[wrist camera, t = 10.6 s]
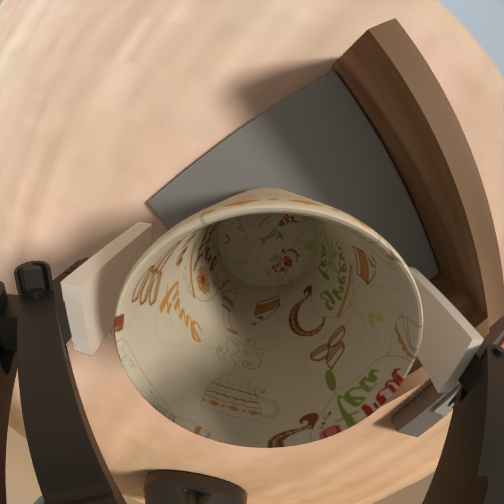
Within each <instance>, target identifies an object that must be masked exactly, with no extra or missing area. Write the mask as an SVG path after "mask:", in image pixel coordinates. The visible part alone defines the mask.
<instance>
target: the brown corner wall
mask: <svg viewBox="0 0 504 504" xmlns="http://www.w3.org/2000/svg"><path fill="white" fill-rule="evenodd" d="M332 68H333V69H334V70H335V72H336V73H337V74H338V76H339V77H340V78H341V80H342V81H343V83H344V84H345V85H346V87H347V88H348V90H349V91H350V92H351V94H352V95H353V97H354V98H355V100H356V101H357V103H358V104H359V106H360V107H361V109H362V110H363V112H364V114H365V115H366V117H367V118H368V120H369V122H370V123H371V125H372V126H373V128H374V130H375V131H376V133H377V135H378V136H379V138H380V140H381V142H382V143H383V145H384V147H385V149H386V151H387V152H388V154H389V156H390V158H391V160H392V162H393V163H394V165H395V167H396V169H397V171H398V173H399V175H400V177H401V179H402V181H403V183H404V185H405V187H406V189H407V191H408V193H409V196H410V198H411V200H412V202H413V204H414V207H415V209H416V211H417V213H418V216H419V218H420V220H421V223H422V225H423V228H424V230H425V233H426V235H427V238H428V240H429V243H430V246H431V248H432V251H433V254H434V256H435V259H436V262H437V265H438V268H439V271H440V272H439V273H438V274H437V275H436V276H434V277H433V278H432V279H430V280H429V281H430V282H431V283H432V284H433V285H434V286H435V287H436V288H437V289H438V290H439V291H440V292H441V293H442V294H443V295H444V296H445V297H446V298H447V299H448V300H449V302H450V303H451V304H452V305H453V306H454V307H455V308H456V309H457V310H458V311H459V312H460V313H461V314H462V315H463V316H464V317H465V319H466V320H467V321H468V322H469V323H470V324H471V325H472V326H473V327H474V328H475V330H476V331H477V332H478V333H479V334H480V335H481V336H482V338H484V337H486V336H487V335H488V334H489V333H490V331H489V328H490V327H491V326H492V325H493V324H494V323H495V322H497V321H498V320H499V319H500V318H501V317H502V316H503V315H504V281H503V273H502V266H501V260H500V253H499V248H498V242H497V237H496V233H495V228H494V224H493V219H492V215H491V211H490V207H489V204H488V200H487V197H486V193H485V190H484V187H483V183H482V180H481V177H480V174H479V171H478V168H477V165H476V163H475V160H474V157H473V155H472V152H471V149H470V147H469V144H468V142H467V140H466V137H465V135H464V132H463V130H462V128H461V126H460V123H459V121H458V119H457V117H456V115H455V113H454V111H453V109H452V107H451V105H450V103H449V101H448V99H447V97H446V95H445V93H444V91H443V89H442V88H441V86H440V84H439V82H438V81H437V79H436V77H435V75H434V74H433V72H432V70H431V69H430V67H429V65H428V64H427V62H426V61H425V59H424V58H423V56H422V54H421V53H420V51H419V50H418V48H417V47H416V45H415V44H414V43H413V41H412V40H411V38H410V37H409V36H408V34H407V33H406V31H405V30H404V29H403V27H402V26H401V25H400V23H399V22H398V21H397V20H396V18H395V19H392V20H389V21H387V22H384V23H382V24H380V25H377V26H375V27H372V28H370V29H368V30H367V31H366V32H365V33H364V34H363V35H362V36H361V37H360V38H359V39H358V40H357V41H356V42H355V43H354V44H353V45H352V46H351V47H350V48H349V49H348V50H347V51H346V52H345V53H344V54H343V55H342V56H341V57H340V58H339V59H338V60H337V61H336V62H335V63H334V64H333V65H332ZM427 379H429V376H428V374H427V372H426V371H425V369H424V367H423V365H422V364H421V362H420V360H419V359H418V357H417V356H416V358H415V361H414V363H413V365H412V367H411V369H410V371H409V373H408V374H407V376H406V378H405V379H404V381H403V382H402V383H401V385H400V386H399V387H398V389H397V390H396V391H395V393H394V394H393V395H392V396H391V397H390V398H389V399H388V400H387V401H386V402H385V403H384V404H383V405H385V404H387V403H389V402H390V401H392V400H394V399H396V398H398V397H399V396H401V395H403V394H405V393H406V392H408V391H410V390H411V389H413V388H415V387H416V386H418V385H420V384H421V383H423V382H424V381H426V380H427ZM383 405H382V406H383Z"/></svg>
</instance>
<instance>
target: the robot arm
mask: <svg viewBox="0 0 504 504" xmlns="http://www.w3.org/2000/svg"><path fill="white" fill-rule="evenodd" d="M152 230H153V224H150V223H144V222H138V223H136V224H135V225H133V226H132V227H131V228H129V229H128V230H127V231H125V232H124V233H122V234H121V235H120V236H118V237H117V238H116V239H114V240H113V241H112V242H110V243H109V244H108V245H106V246H105V247H104V248H102V249H101V250H100V251H98V252H97V253H96V254H95V255H93V256H92V257H91V258H85V259H82V260H80V261H77V262H76V263H74V264H73V265H72V266H71V267H70V268H68V269H67V270H65V271H64V273H62V274H60V275H59V276H58V277H57V278H55V279H54V280H53V281H52V276H51V269H50V266H49V264H48V263H46V262H43V261H30V262H26V263H24V264H21V265H20V266H18V267H17V268H16V269H15V271H14V275H15V280H16V285H17V289H18V294H19V295H11V294H6V290H5V286H4V283H3V282H1V281H0V504H7V503H6V484H5V462H6V461H5V460H6V442H7V441H6V440H7V430H8V420H9V412H10V405H11V399H12V393H13V387H14V382H15V377H16V372H17V368H18V378H19V389H20V398H21V406H22V413H23V420H24V426H25V431H26V436H27V441H28V446H29V450H30V454H31V458H32V462H33V466H34V470H35V473H36V476H37V480H38V483H39V486H40V489H41V492H42V496H40V497H39V498H38V499H37V500H36V502H35V503H34V504H127V503H126V502H125V500H124V498H123V496H122V494H121V493H120V491H119V489H118V487H117V485H116V483H115V481H114V479H113V477H112V475H111V473H110V471H109V469H108V467H107V465H106V463H105V460H104V458H103V456H102V454H101V451H100V449H99V447H98V444H97V442H96V440H95V437H94V435H93V432H92V429H91V427H90V424H89V421H88V419H87V416H86V413H85V410H84V407H83V404H82V401H81V398H80V395H79V392H78V388H77V385H76V381H75V378H74V374H73V371H72V367H71V363H70V359H69V355H68V350H67V347H66V343H67V342H68V341H69V340H70V338H72V342H73V346H74V350H76V351H78V352H81V353H84V354H87V355H90V356H93V354H94V353H95V351H96V350H97V348H98V347H99V345H100V344H101V342H102V341H103V339H104V338H105V337H106V335H107V334H108V332H109V331H110V329H111V328H112V327H113V325H114V318H115V309H116V305H117V301H118V297H119V294H120V291H121V289H122V286H123V284H124V282H125V280H126V277H127V276H128V274H129V272H130V271H131V269H132V267H133V266H134V264H135V263H136V262H137V261H138V259H139V258H140V257H141V256H142V254H143V253H144V252H145V251H146V250H147V249H148V248H149V247H150V246H151V245H152ZM408 268H409V270H410V272H411V274H412V276H413V278H414V280H415V282H416V285H417V288H418V291H419V294H420V298H421V303H422V309H423V330H422V338H421V342H420V347H419V350H418V353H417V357H418V359H419V360H420V362H421V364H422V365H423V367H424V369H425V371H426V372H427V374H428V376H429V378H430V379H431V381H432V383H433V385H434V386H435V388H436V390H437V392H438V393H445V392H451V390H452V389H453V388H454V386H455V385H456V383H457V382H458V381H459V382H460V384H461V387H460V389H459V390H458V392H457V393H456V394H455V396H454V397H453V398H452V400H451V401H450V402H449V404H448V406H450V405H451V404H452V403H455V404H454V406H453V407H452V408H453V413H452V418H451V422H450V426H449V429H448V433H447V437H446V440H445V444H444V447H443V450H442V453H441V457H440V460H439V463H438V465H437V468H436V471H435V474H434V476H433V479H432V482H431V484H430V487H429V490H428V492H427V494H426V497H425V499H424V501H423V503H422V504H504V349H503V348H502V347H501V346H499V345H496V344H492V343H490V344H488V345H486V344H485V343H484V341H483V340H484V339H483V338H482V336H481V335H480V334H479V333H478V332H477V331H476V330H475V328H474V327H473V326H472V325H471V324H470V323H469V322H468V321H467V320H466V319H465V317H464V316H463V315H462V314H461V313H460V312H459V311H458V310H457V309H456V308H455V307H454V306H453V305H452V304H451V303H450V302H449V300H448V299H447V298H446V297H445V296H444V295H443V294H442V293H441V292H440V291H439V290H438V289H437V288H436V287H435V286H434V285H433V284H432V283H431V282H430V281H429V280H428V279H427V278H426V277H424V276H423V275H422V274H421V273H420V272H419V271H418V270H417V269H416V268H413V267H408ZM144 492H145V504H247V493H246V491H245V490H244V489H242V488H241V487H239V486H237V485H235V484H232V483H230V482H227V481H224V480H220V479H217V478H213V477H209V476H204V475H199V474H193V473H187V472H179V471H155V472H151V473H149V474H148V475H147V476H146V480H145V483H144Z"/></svg>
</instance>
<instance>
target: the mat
mask: <svg viewBox="0 0 504 504" xmlns="http://www.w3.org/2000/svg"><path fill="white" fill-rule="evenodd" d="M261 187H270V188H278V189H282V190H286V191H289V192H292V193H295V194H297V195H300V196H303V197H306V198H309V199H312V200H314V201H317V202H320V203H323V204H325V205H328V206H331V207H333V208H336V209H338V210H340V211H342V212H345V213H347V214H349V215H351V216H352V217H354V218H356V219H358V220H359V221H361V222H362V223H364V224H366V225H367V226H369V227H370V228H372V229H373V230H374V231H375V232H377V233H378V234H379V235H380V236H381V237H383V238H384V239H385V240H386V241H387V242H388V243H389V244H390V245H391V246H392V247H393V248H394V249H395V250H396V251H397V252H398V254H399V255H400V256H401V258H402V259H403V260H404V262H405V263H406V265H407V266H408V267H413V268H416V269H417V270H418V271H419V272H420V273H421V274H422V275H423V276H424V277H426V278H427V279H428V280H430V279H432V278H433V277H434V276H436V275H437V274H438V273H439V270H438V267H437V264H436V261H435V258H434V256H433V253H432V250H431V247H430V245H429V242H428V240H427V237H426V234H425V232H424V230H423V227H422V225H421V222H420V220H419V218H418V215H417V213H416V211H415V208H414V206H413V204H412V202H411V200H410V197H409V195H408V193H407V191H406V189H405V187H404V185H403V183H402V181H401V179H400V177H399V175H398V173H397V171H396V169H395V167H394V165H393V163H392V161H391V159H390V158H389V156H388V154H387V152H386V150H385V149H384V147H383V145H382V143H381V142H380V140H379V138H378V136H377V135H376V133H375V131H374V130H373V128H372V126H371V125H370V123H369V121H368V120H367V118H366V117H365V115H364V114H363V112H362V110H361V109H360V107H359V106H358V104H357V103H356V101H355V100H354V98H353V97H352V95H351V94H350V92H349V91H348V90H347V88H346V87H345V85H344V84H343V83H342V81H341V80H340V78H339V77H338V76H337V74H336V73H335V72H334V71H332V72H330V73H328V74H326V75H325V76H323V77H321V78H319V79H318V80H316V81H314V82H312V83H311V84H309V85H307V86H306V87H304V88H302V89H301V90H299V91H297V92H296V93H294V94H292V95H291V96H289V97H288V98H286V99H284V100H283V101H281V102H280V103H278V104H277V105H275V106H273V107H272V108H270V109H269V110H267V111H266V112H264V113H263V114H261V115H260V116H258V117H257V118H255V119H254V120H252V121H251V122H250V123H248V124H247V125H245V126H244V127H242V128H241V129H239V130H238V131H237V132H235V133H234V134H232V135H231V136H230V137H228V138H227V139H226V140H224V141H223V142H221V143H220V144H219V145H217V146H216V147H215V148H213V149H212V150H211V151H209V152H208V153H207V154H205V155H204V156H203V157H202V158H200V159H199V160H198V161H196V162H195V163H194V164H193V165H191V166H190V167H189V168H188V169H186V170H185V171H184V172H183V173H181V174H180V175H179V176H178V177H176V178H175V179H174V180H173V181H172V182H170V183H169V184H168V185H167V186H166V187H164V188H163V189H162V190H161V191H160V192H159V193H157V194H156V195H155V196H154V197H153V198H152V199H150V200H149V201H148V203H149V204H150V206H151V207H152V208H153V209H154V211H155V212H156V213H157V215H158V216H159V217H160V218H161V220H162V221H163V222H164V224H165V225H166V226H167V227H168V229H169V230H170V229H171V228H173V227H174V226H176V225H177V224H178V223H180V222H181V221H183V220H185V219H187V218H188V217H190V216H192V215H194V214H196V213H198V212H200V211H202V210H204V209H206V208H208V207H211V206H213V205H215V204H217V203H219V202H222V201H224V200H226V199H228V198H230V197H233V196H235V195H237V194H239V193H242V192H244V191H247V190H250V189H254V188H261Z"/></svg>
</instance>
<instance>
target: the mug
mask: <svg viewBox="0 0 504 504" xmlns="http://www.w3.org/2000/svg"><path fill="white" fill-rule="evenodd" d="M422 330H423V309H422V303H421V298H420V294H419V291H418V288H417V285H416V282H415V280H414V278H413V276H412V274H411V272H410V270H409V268H408V266H407V265H406V263H405V262H404V260H403V259H402V258H401V256H400V255H399V254H398V252H397V251H396V250H395V249H394V248H393V247H392V246H391V245H390V244H389V243H388V242H387V241H386V240H385V239H384V238H383V237H381V236H380V235H379V234H378V233H377V232H375V231H374V230H373V229H372V228H370V227H369V226H367V225H366V224H364V223H362V222H361V221H359V220H358V219H356V218H354V217H352V216H351V215H349V214H347V213H345V212H342V211H340V210H338V209H336V208H333V207H331V206H328V205H325V204H323V203H320V202H317V201H314V200H312V199H309V198H306V197H303V196H300V195H297V194H295V193H292V192H289V191H286V190H282V189H278V188H270V187H261V188H254V189H250V190H247V191H244V192H242V193H239V194H237V195H235V196H233V197H230V198H228V199H226V200H224V201H222V202H219V203H217V204H215V205H213V206H211V207H208V208H206V209H204V210H202V211H200V212H198V213H196V214H194V215H192V216H190V217H188V218H187V219H185V220H183V221H181V222H180V223H178V224H177V225H176V226H174V227H173V228H171V229H170V230H168V231H167V232H166V233H164V234H163V235H162V236H160V237H159V238H158V239H157V240H156V241H155V242H154V243H153V244H152V245H151V246H150V247H149V248H148V249H147V250H146V251H145V252H144V253H143V254H142V256H141V257H140V258H139V259H138V261H137V262H136V263H135V264H134V266H133V267H132V269H131V271H130V272H129V274H128V276H127V277H126V280H125V282H124V284H123V286H122V289H121V291H120V294H119V297H118V301H117V305H116V309H115V318H114V335H115V342H116V347H117V351H118V354H119V358H120V360H121V363H122V365H123V367H124V369H125V371H126V373H127V375H128V377H129V379H130V380H131V382H132V383H133V385H134V386H135V387H136V389H137V390H138V391H139V393H140V394H141V395H142V396H143V397H144V398H145V399H146V401H147V402H148V403H149V404H151V405H152V406H153V407H154V408H155V409H156V410H157V411H159V412H160V413H161V414H162V415H164V416H165V417H166V418H168V419H169V420H171V421H172V422H174V423H176V424H177V425H179V426H181V427H183V428H185V429H187V430H189V431H191V432H193V433H195V434H198V435H200V436H203V437H206V438H208V439H211V440H215V441H218V442H222V443H227V444H231V445H237V446H245V447H258V448H274V447H287V446H295V445H300V444H305V443H310V442H314V441H317V440H321V439H324V438H327V437H329V436H332V435H335V434H337V433H339V432H342V431H344V430H346V429H348V428H350V427H352V426H354V425H355V424H357V423H359V422H360V421H362V420H363V419H365V418H367V417H368V416H369V415H371V414H372V413H373V412H375V411H376V410H377V409H378V408H379V407H381V406H382V405H383V404H384V403H385V402H386V401H387V400H388V399H389V398H390V397H391V396H392V395H393V394H394V393H395V391H396V390H397V389H398V387H399V386H400V385H401V383H402V382H403V381H404V379H405V378H406V376H407V374H408V373H409V371H410V369H411V367H412V365H413V363H414V361H415V358H416V356H417V353H418V350H419V347H420V342H421V338H422Z"/></svg>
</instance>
